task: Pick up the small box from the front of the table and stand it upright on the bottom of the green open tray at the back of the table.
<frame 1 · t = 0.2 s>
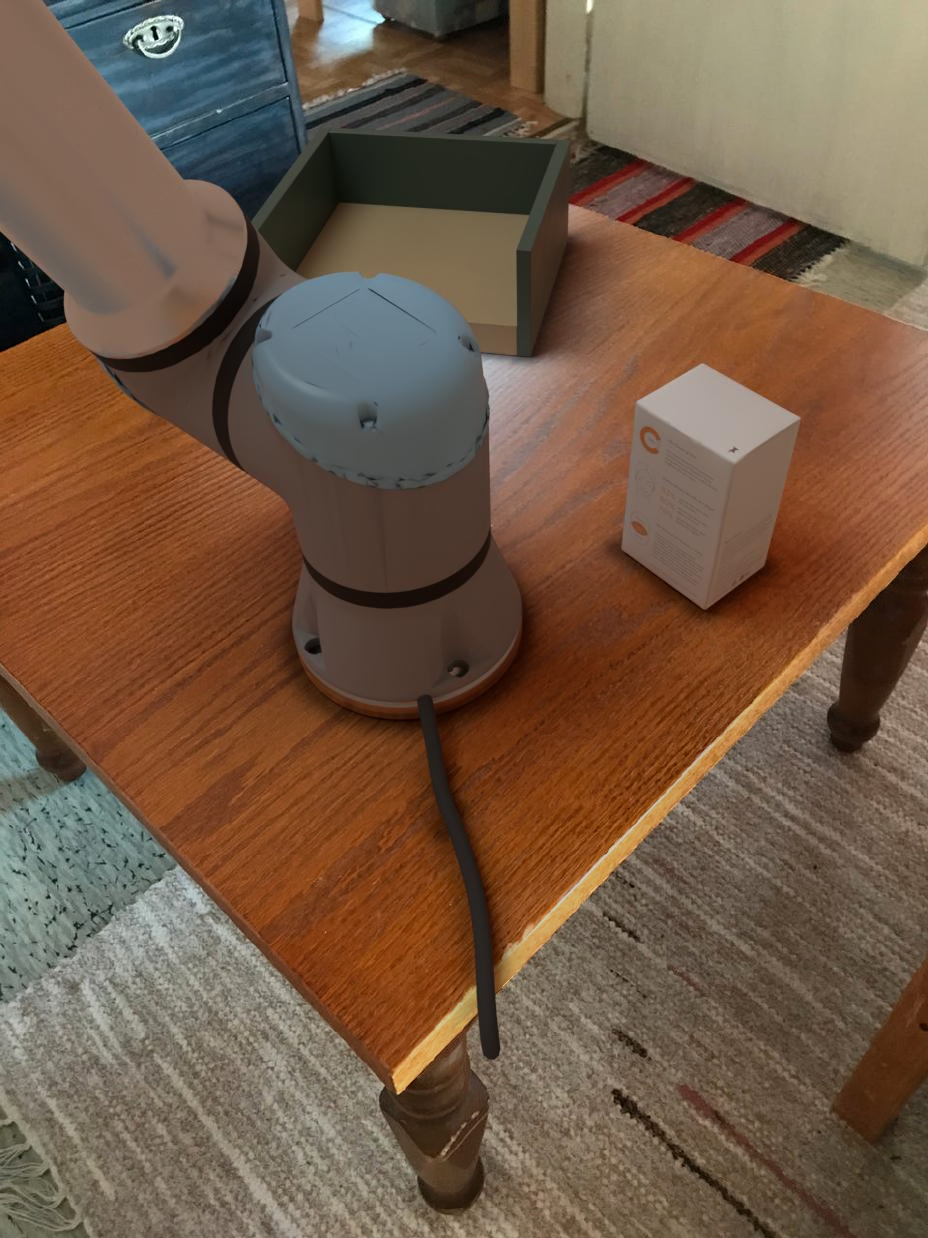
small box: (691, 560, 70), on the table
supplement bottle: (188, 395, 85), on the table
supplement bottle 2: (173, 338, 91), on the table
green open tray: (424, 284, 95), on the table
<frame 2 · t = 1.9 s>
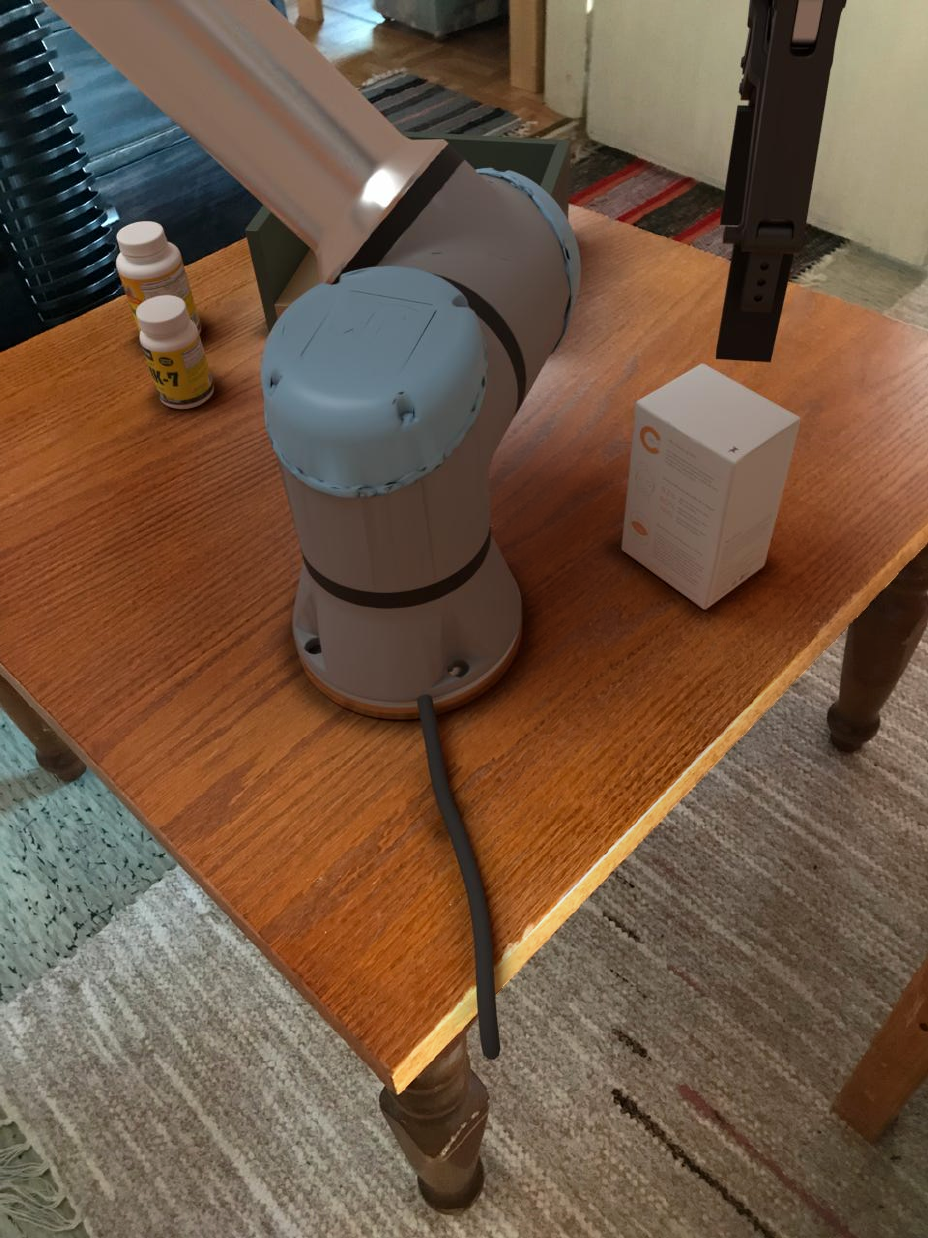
hand: (743, 284, 54), 21 cm above the table, tool pointing down, fingers open, 13 cm apart
nothing on the table moved.
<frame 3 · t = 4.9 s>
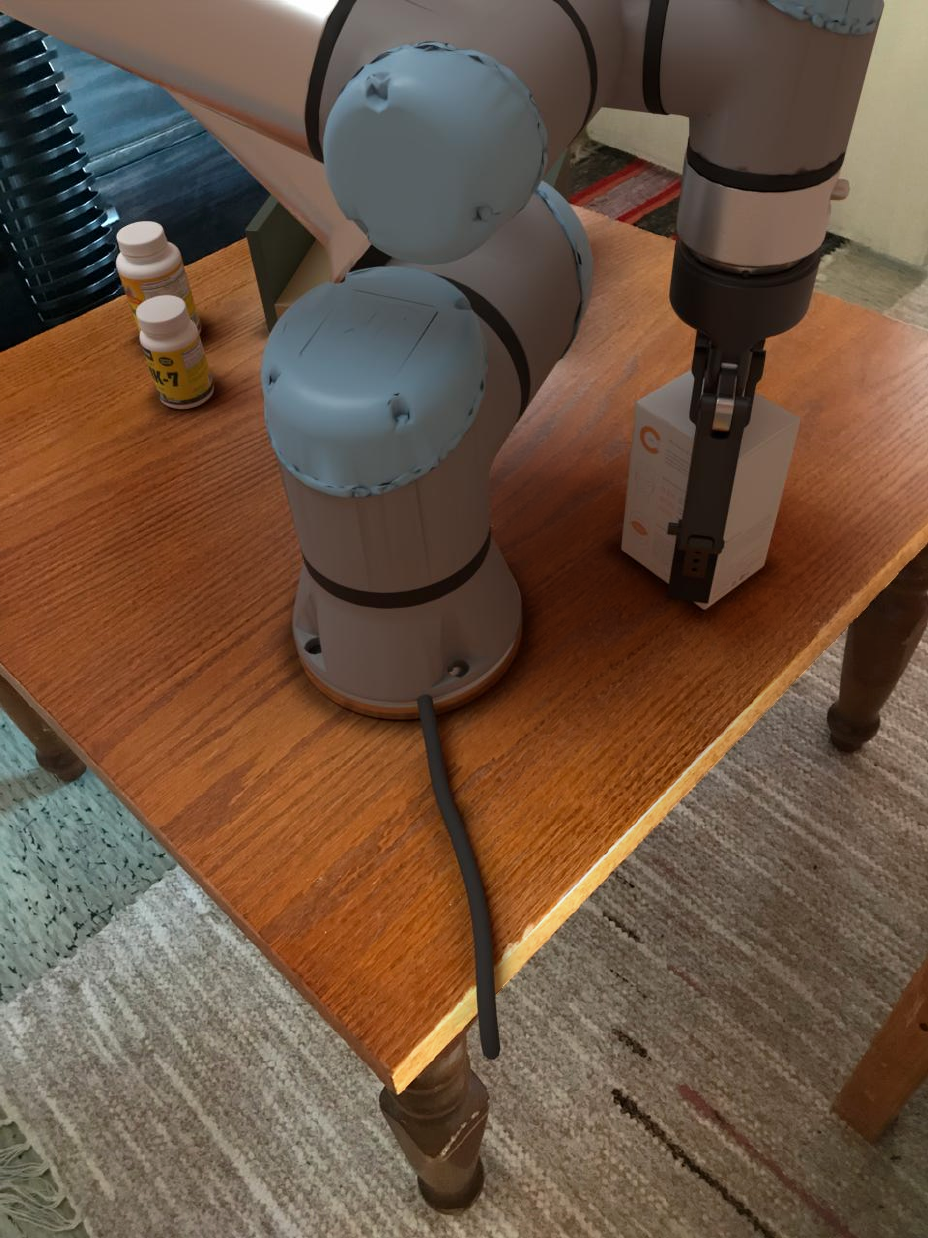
hand: (694, 542, 68), 2 cm above the table, tool pointing down, fingers closed on small box, 10 cm apart
small box: (690, 560, 70), on the table, touching gripper
everything else where it was.
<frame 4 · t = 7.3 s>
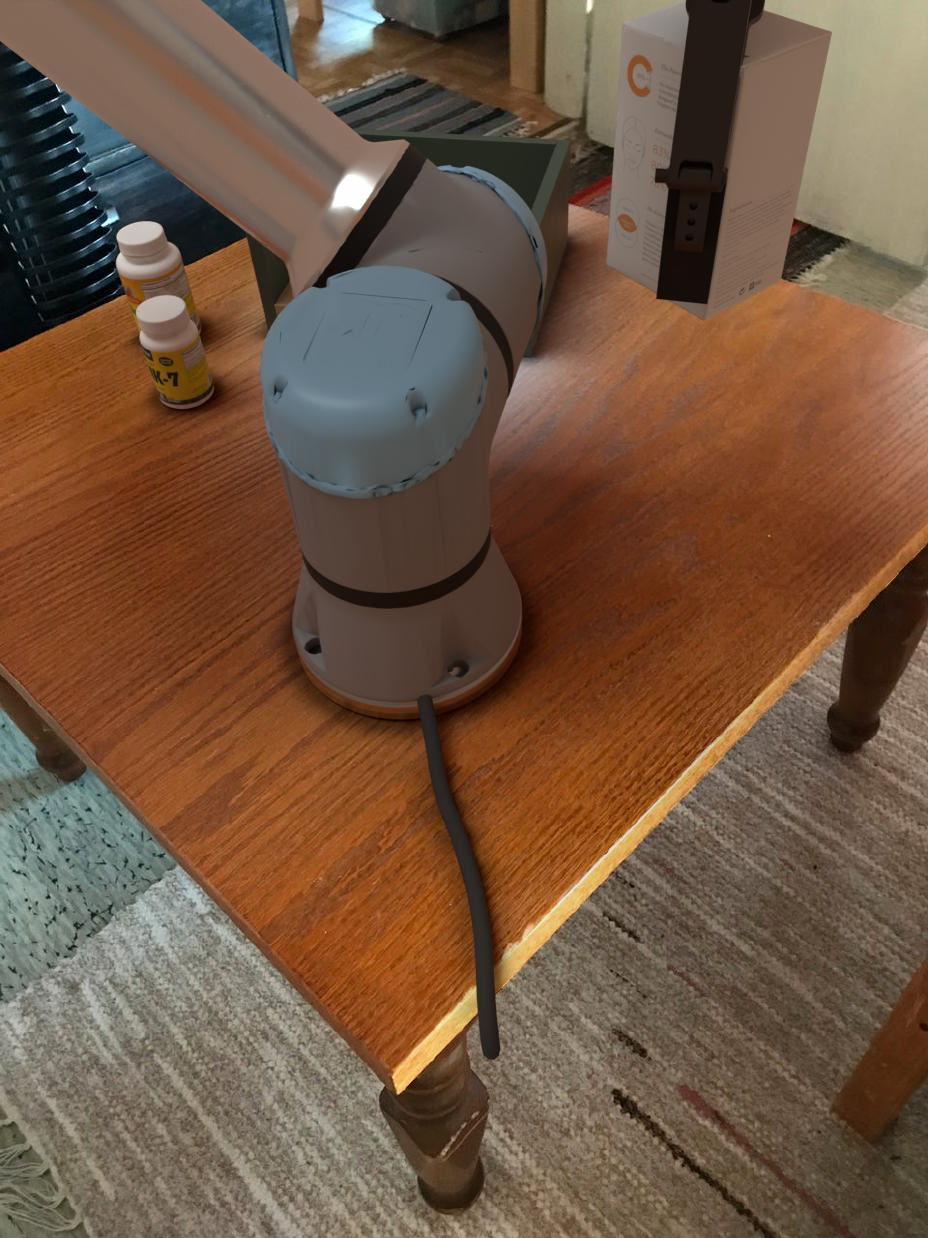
hand: (694, 248, 56), 22 cm above the table, tool pointing down, fingers closed on small box, 10 cm apart
small box: (690, 277, 57), point 20 cm above the table, touching gripper
everything else where it was.
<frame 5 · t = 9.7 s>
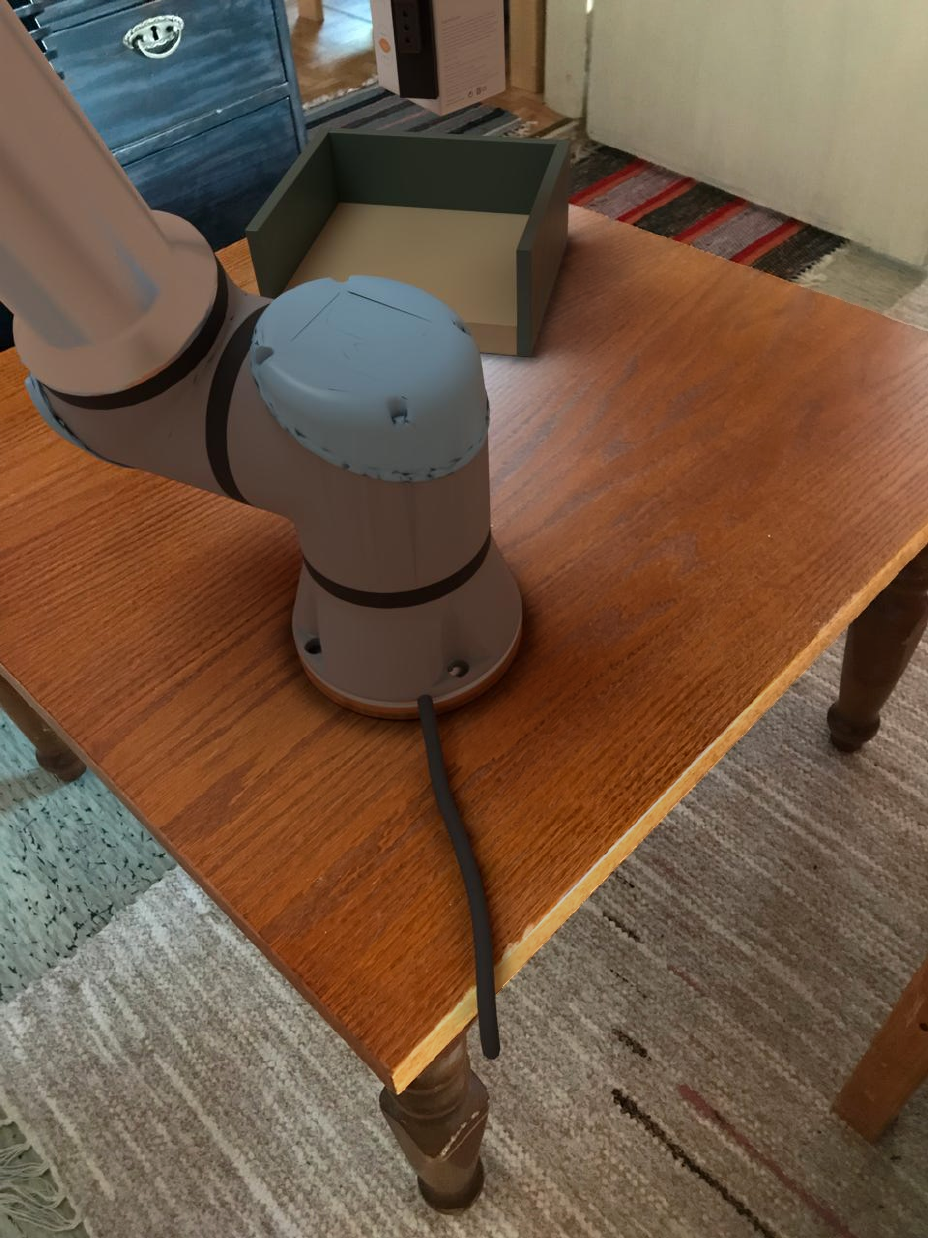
hand: (438, 66, 73), 22 cm above the table, tool pointing down, fingers closed on small box, 10 cm apart
small box: (441, 92, 75), point 20 cm above the table, touching gripper
everything else where it was.
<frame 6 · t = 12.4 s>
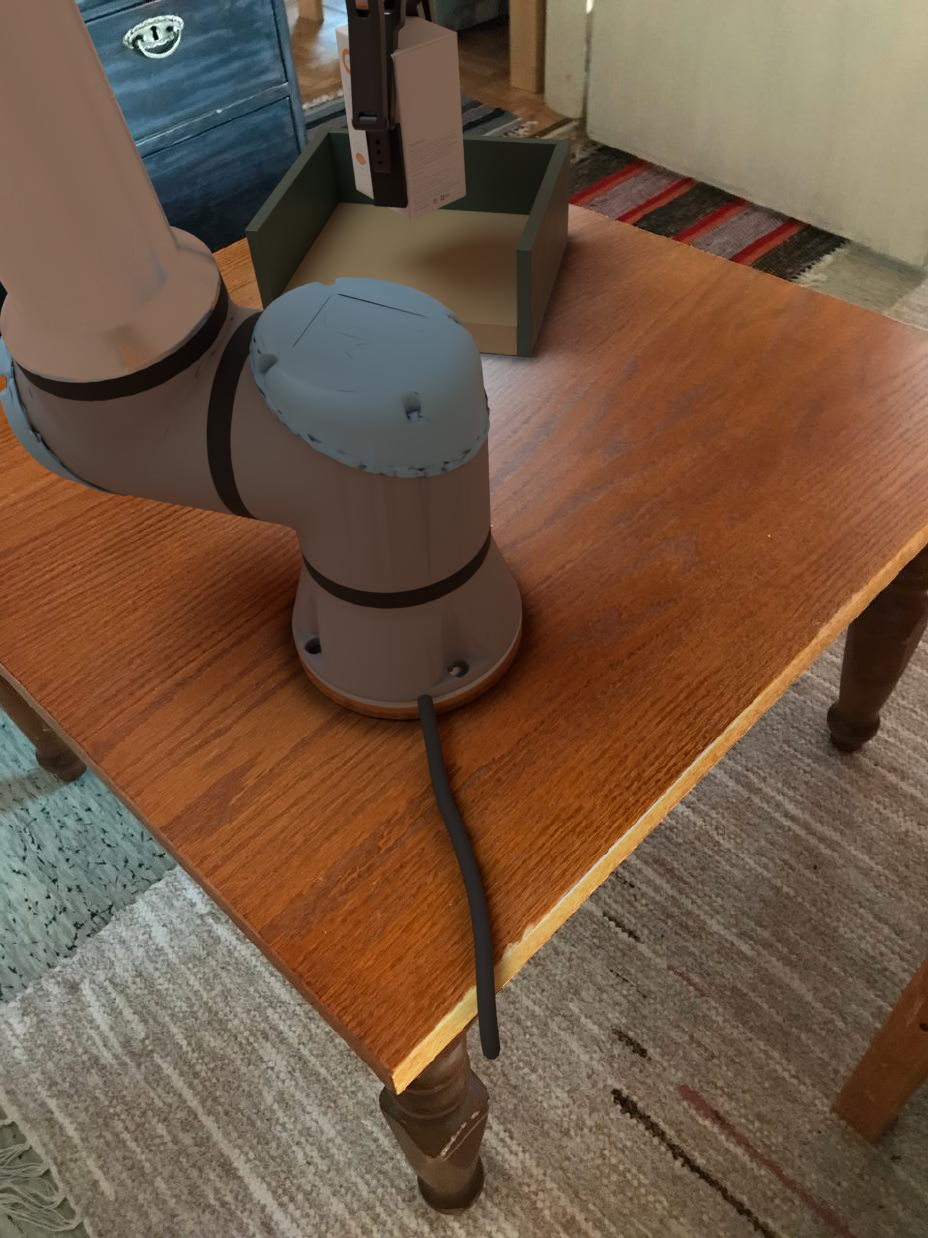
hand: (407, 175, 85), 12 cm above the table, tool pointing down, fingers closed on small box, 10 cm apart
small box: (411, 195, 86), point 10 cm above the table, touching gripper
everything else where it was.
when the fingers open (4 cm above the table, at t = 14.6 s): small box stays where it is, resting on green open tray.
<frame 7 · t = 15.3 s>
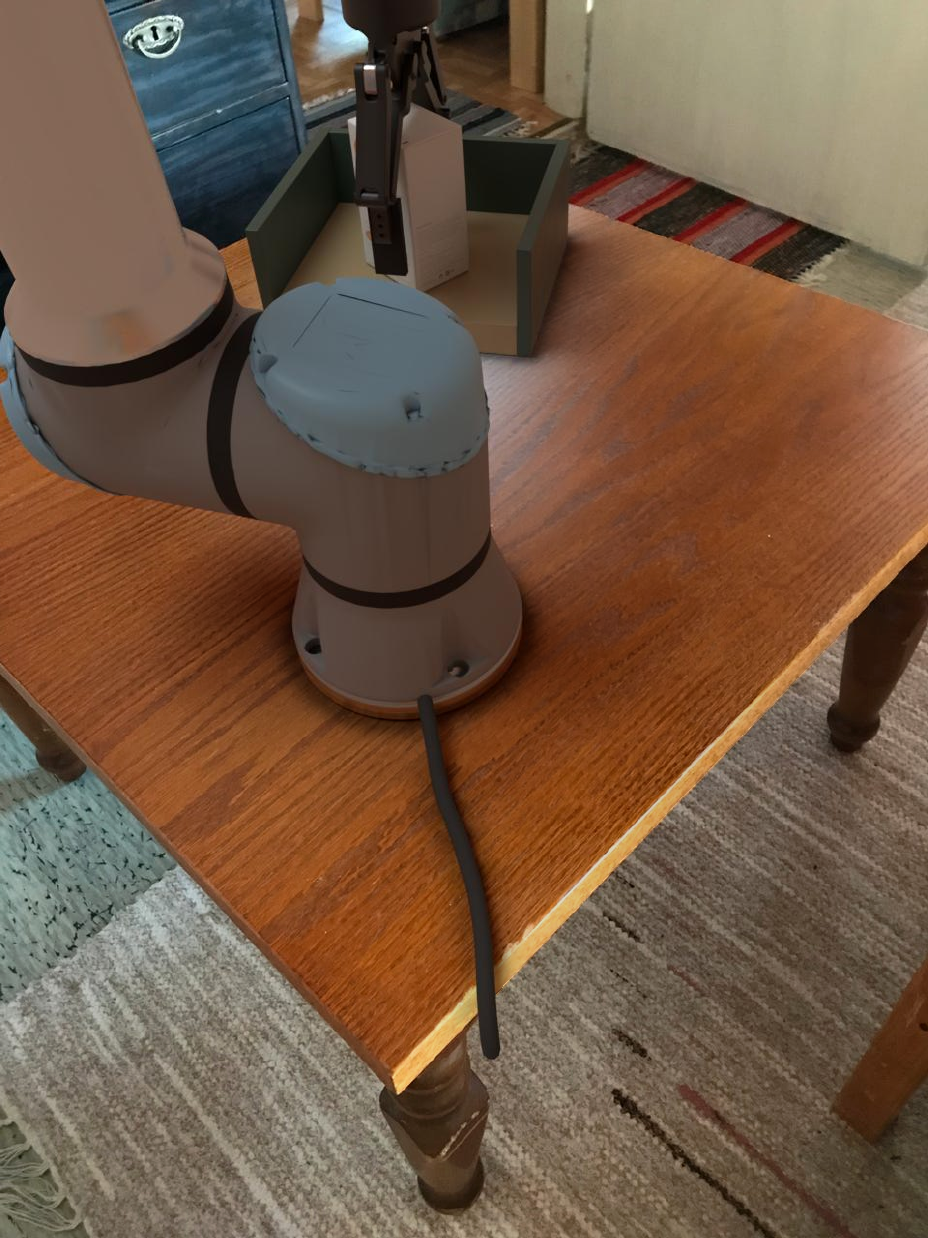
hand: (412, 233, 89), 6 cm above the table, tool pointing down, fingers open, 13 cm apart
small box: (417, 268, 91), point 3 cm above the table, touching green open tray
everything else where it was.
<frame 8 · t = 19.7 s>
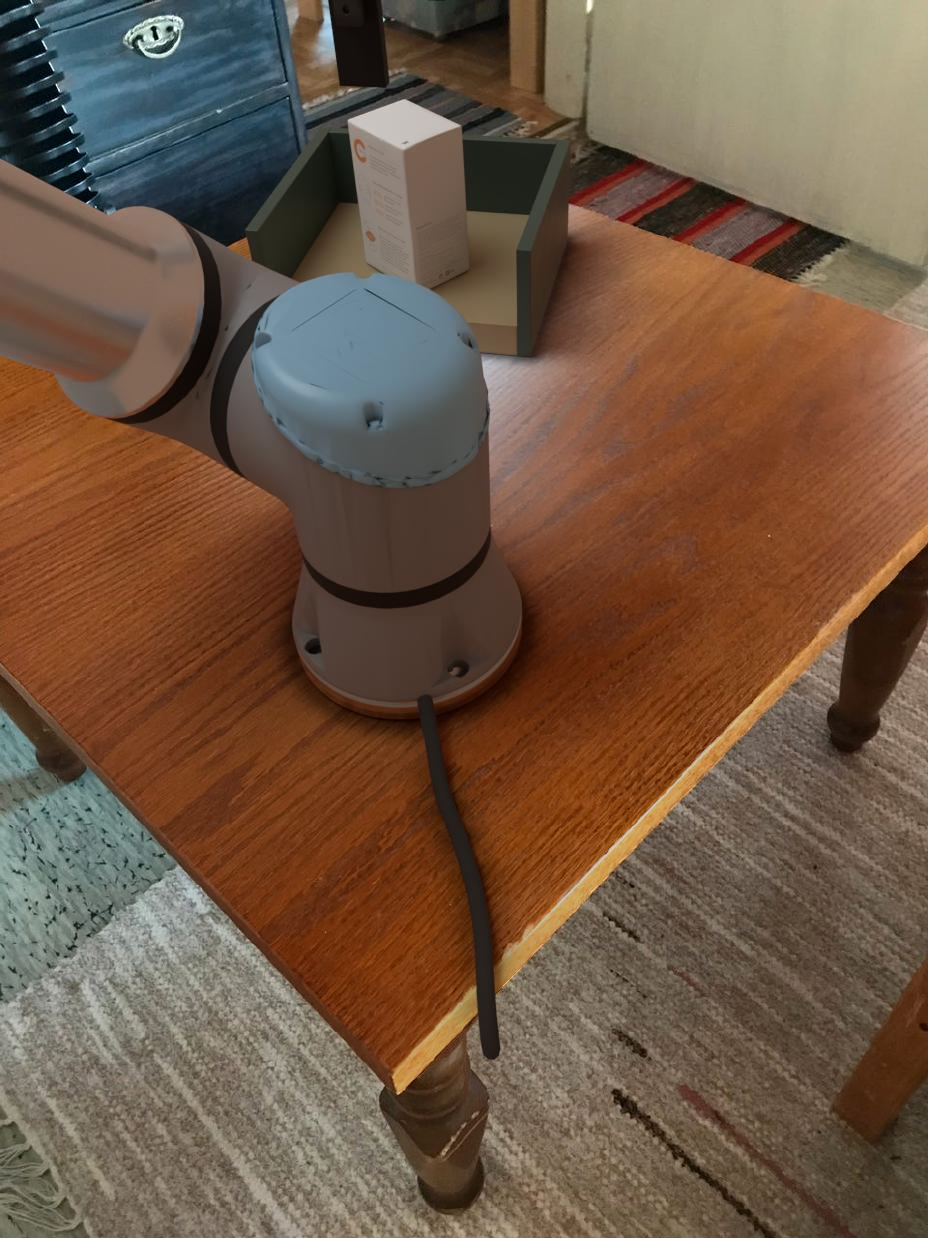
hand: (397, 38, 59), 29 cm above the table, tool pointing down, fingers open, 13 cm apart
nothing on the table moved.
at the end: small box inside the target area on the green open tray (1.0 cm from its centre), point 2.8 cm above the green open tray's base; small box tilted 0°; the gripper is holding nothing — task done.
